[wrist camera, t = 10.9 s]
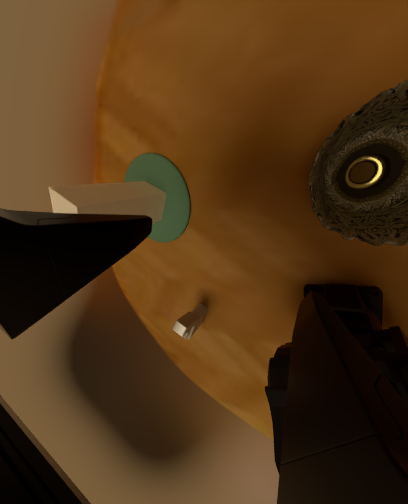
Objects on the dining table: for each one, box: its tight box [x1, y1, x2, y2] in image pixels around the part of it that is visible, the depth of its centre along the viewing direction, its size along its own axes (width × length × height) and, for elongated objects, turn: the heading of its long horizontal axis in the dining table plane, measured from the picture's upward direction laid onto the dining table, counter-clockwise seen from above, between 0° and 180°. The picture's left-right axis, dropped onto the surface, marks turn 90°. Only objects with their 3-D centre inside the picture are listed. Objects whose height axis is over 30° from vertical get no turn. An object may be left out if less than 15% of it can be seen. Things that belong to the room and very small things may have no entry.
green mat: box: [125, 153, 191, 242], centre depth 27 cm, size 13×13×1 cm
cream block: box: [49, 181, 167, 224], centre depth 22 cm, size 4×4×12 cm
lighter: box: [173, 303, 208, 339], centre depth 27 cm, size 7×2×8 cm, turn 163°
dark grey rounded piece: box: [308, 80, 408, 246], centre depth 11 cm, size 8×7×8 cm
